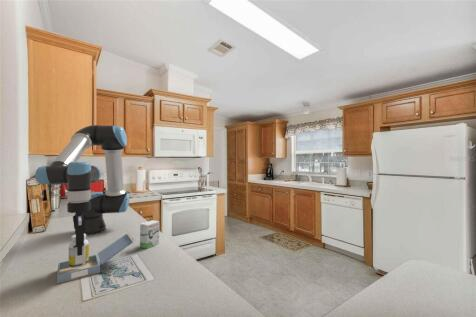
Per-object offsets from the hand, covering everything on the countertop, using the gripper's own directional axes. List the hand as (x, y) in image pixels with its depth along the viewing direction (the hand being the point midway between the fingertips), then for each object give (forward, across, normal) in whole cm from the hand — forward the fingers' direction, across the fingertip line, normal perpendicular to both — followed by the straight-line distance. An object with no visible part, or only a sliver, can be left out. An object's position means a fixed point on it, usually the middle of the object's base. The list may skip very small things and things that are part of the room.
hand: (79, 259), depth 88 cm
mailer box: (+5, 0, 0) cm, 5 cm away
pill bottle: (+2, 0, 0) cm, 2 cm away
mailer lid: (-3, 0, +12) cm, 13 cm away
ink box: (+5, -11, +30) cm, 32 cm away
